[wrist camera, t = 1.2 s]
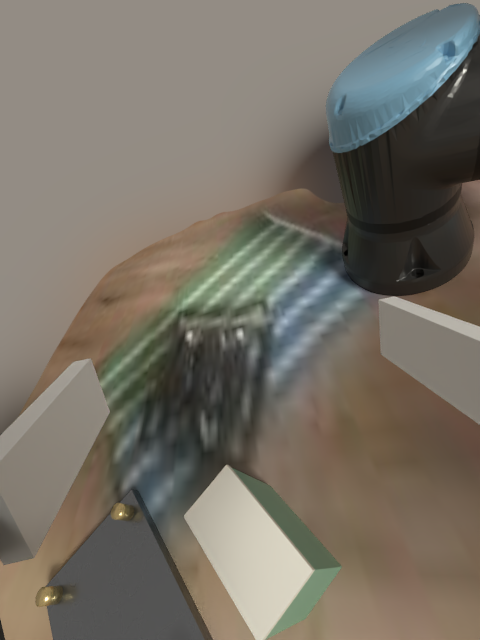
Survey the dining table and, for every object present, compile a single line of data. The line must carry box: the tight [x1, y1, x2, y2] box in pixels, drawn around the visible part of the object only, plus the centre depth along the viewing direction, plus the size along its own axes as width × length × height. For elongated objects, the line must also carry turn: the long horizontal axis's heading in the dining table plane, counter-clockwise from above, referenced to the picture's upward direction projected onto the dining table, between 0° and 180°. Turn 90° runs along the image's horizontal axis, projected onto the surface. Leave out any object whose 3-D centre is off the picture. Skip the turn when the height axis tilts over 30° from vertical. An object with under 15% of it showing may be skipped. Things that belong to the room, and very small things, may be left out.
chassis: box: [36, 489, 213, 640], centre depth 30 cm, size 14×19×3 cm
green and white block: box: [184, 465, 342, 640], centre depth 25 cm, size 5×9×10 cm, turn 43°
